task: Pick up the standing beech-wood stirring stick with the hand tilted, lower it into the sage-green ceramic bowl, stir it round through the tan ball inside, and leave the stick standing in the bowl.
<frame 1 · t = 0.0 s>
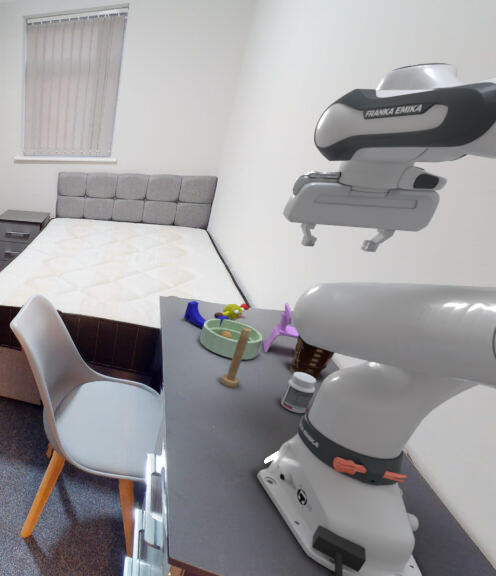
hand: (336, 247, 70), 39 cm above the table, tool pointing down, fingers open, 8 cm apart
toy chair: (281, 352, 109), on the table
blue curved piece: (203, 325, 122), on the table, touching bowl
ball: (225, 335, 113), point 2 cm above the table, touching bowl
bowl: (226, 347, 111), on the table
pill bottle: (292, 407, 86), on the table
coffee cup: (304, 372, 99), on the table
toy figure: (229, 323, 126), on the table
stirring stick: (228, 383, 94), on the table
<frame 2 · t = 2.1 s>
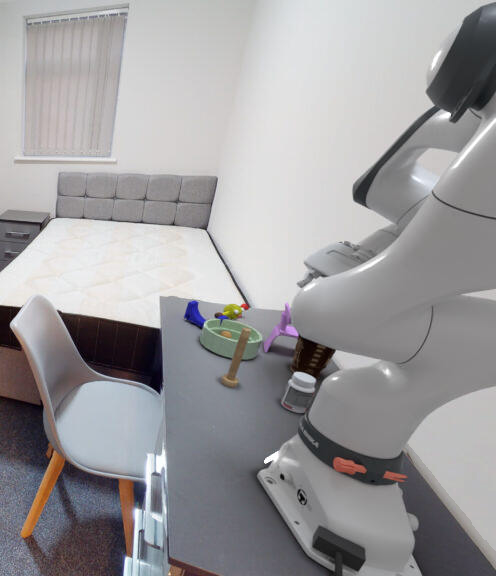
hand: (314, 296, 83), 26 cm above the table, tool tilted 40°, fingers open, 8 cm apart
nothing on the table moved.
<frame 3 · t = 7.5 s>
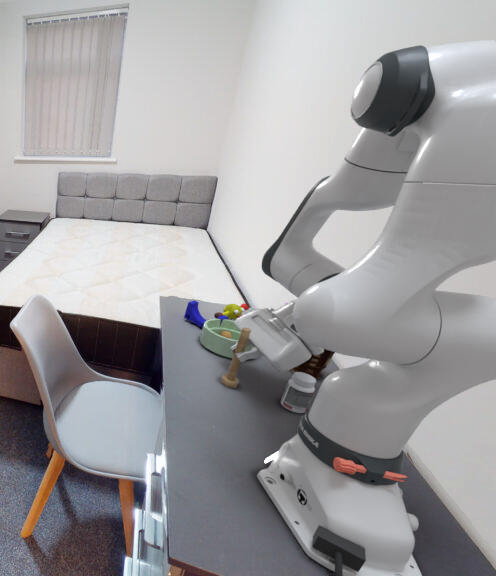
hand: (235, 355, 91), 8 cm above the table, tool tilted 45°, fingers closed on stirring stick, 2 cm apart
stirring stick: (228, 383, 94), on the table, touching gripper
everything else where it was.
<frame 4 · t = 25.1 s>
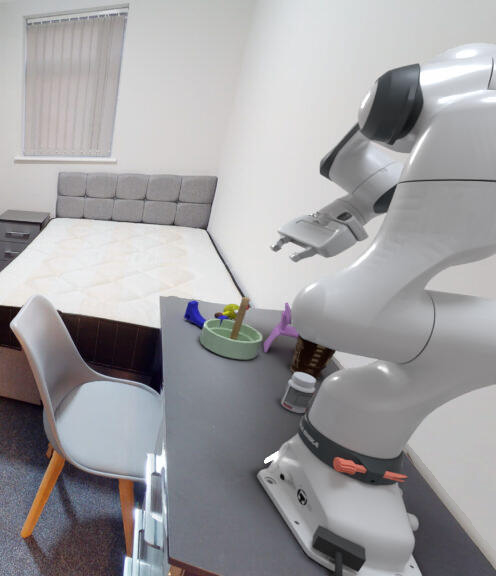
hand: (281, 254, 99), 29 cm above the table, tool tilted 45°, fingers open, 8 cm apart
ball: (219, 341, 109), point 2 cm above the table, tilted 135°, touching bowl
stirring stick: (230, 346, 110), point 1 cm above the table, touching bowl
everything else where it was.
at the end: stirring stick inside the target area in the bowl (0.9 cm from its centre), point 0.6 cm above the bowl's base; ball inside the target area in the bowl (3.2 cm from its centre), point 2.1 cm above the bowl's base; ball moved 5.7 cm from its start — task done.
